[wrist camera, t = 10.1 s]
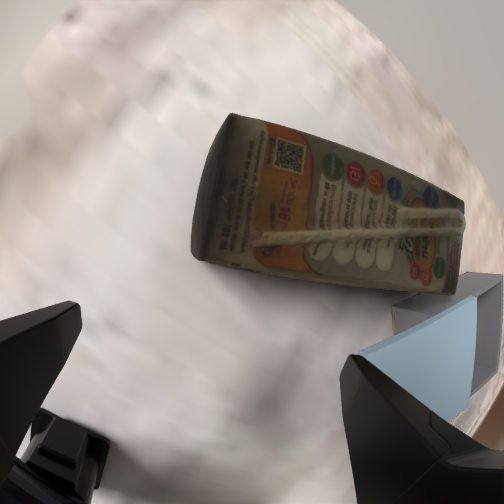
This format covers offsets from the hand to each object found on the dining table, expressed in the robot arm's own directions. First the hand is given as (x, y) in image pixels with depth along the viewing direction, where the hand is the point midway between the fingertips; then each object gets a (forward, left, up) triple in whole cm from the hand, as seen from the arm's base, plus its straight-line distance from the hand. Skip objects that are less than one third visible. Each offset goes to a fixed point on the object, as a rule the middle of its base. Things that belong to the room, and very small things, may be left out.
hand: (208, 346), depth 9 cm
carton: (+4, -24, -11) cm, 26 cm away
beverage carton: (+8, -7, -11) cm, 16 cm away
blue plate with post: (0, -18, -6) cm, 19 cm away
